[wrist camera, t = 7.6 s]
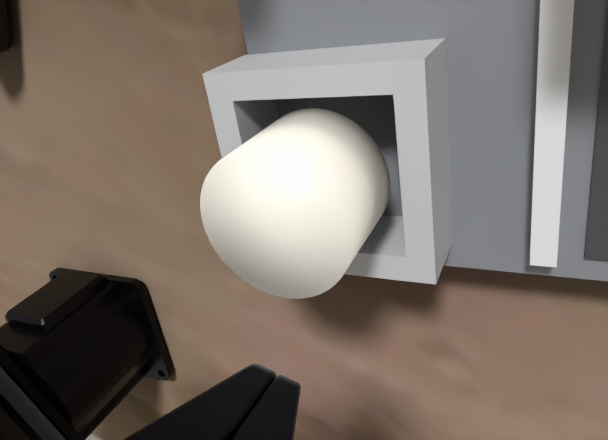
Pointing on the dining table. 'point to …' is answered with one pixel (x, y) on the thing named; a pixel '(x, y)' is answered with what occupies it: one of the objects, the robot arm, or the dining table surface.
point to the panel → (447, 122)
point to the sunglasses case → (4, 27)
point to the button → (296, 202)
